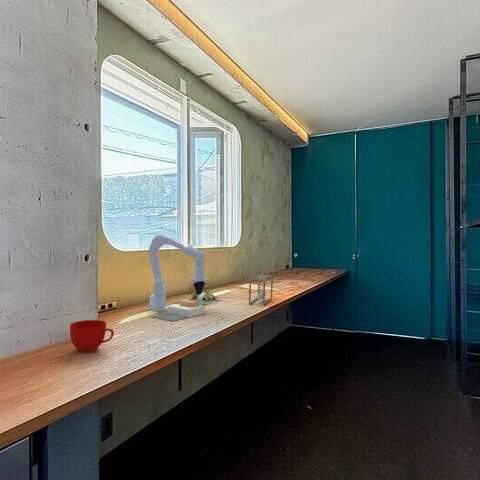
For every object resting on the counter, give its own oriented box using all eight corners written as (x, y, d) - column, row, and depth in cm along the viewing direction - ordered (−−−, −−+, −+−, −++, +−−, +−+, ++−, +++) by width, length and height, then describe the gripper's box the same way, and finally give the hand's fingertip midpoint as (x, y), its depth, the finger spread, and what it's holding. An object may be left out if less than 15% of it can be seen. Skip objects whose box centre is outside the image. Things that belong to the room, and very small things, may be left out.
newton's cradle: (264, 306, 237) (265, 279, 236) (248, 305, 239) (249, 278, 239) (272, 298, 266) (273, 274, 265) (258, 297, 268) (258, 273, 268)
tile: (179, 305, 211) (179, 301, 211) (187, 303, 217) (187, 299, 217) (191, 307, 207) (191, 303, 207) (199, 305, 212) (199, 301, 212)
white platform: (167, 313, 208) (167, 306, 208) (183, 309, 220) (183, 302, 220) (188, 317, 200) (189, 310, 200) (204, 313, 212) (205, 306, 211)
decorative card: (201, 286, 265) (225, 289, 256) (200, 297, 265) (225, 300, 256) (174, 292, 236) (200, 295, 227) (173, 304, 236) (200, 308, 227)
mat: (150, 317, 198) (150, 316, 198) (166, 313, 208) (166, 312, 208) (173, 321, 189) (173, 320, 189) (188, 317, 199) (188, 316, 199)
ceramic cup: (103, 357, 133) (104, 330, 133) (61, 353, 136) (62, 326, 136) (121, 347, 146) (121, 322, 146) (82, 343, 149) (83, 318, 149)
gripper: (197, 273, 210) (196, 296, 211) (212, 271, 223) (211, 293, 223) (187, 272, 214) (186, 295, 215) (203, 270, 226) (202, 292, 227)
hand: (198, 294), depth 219 cm, fingers closed
